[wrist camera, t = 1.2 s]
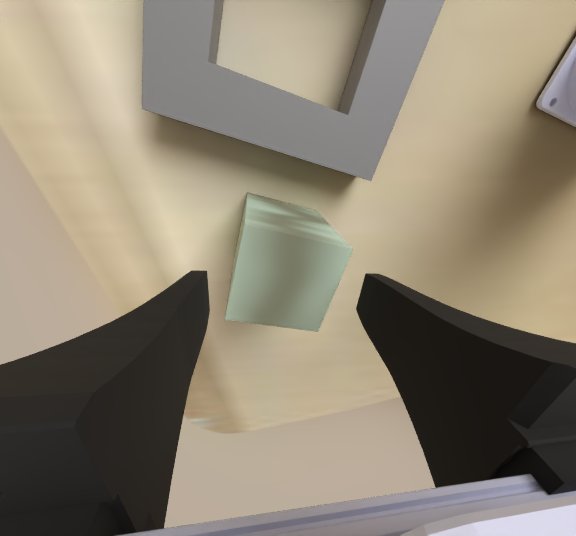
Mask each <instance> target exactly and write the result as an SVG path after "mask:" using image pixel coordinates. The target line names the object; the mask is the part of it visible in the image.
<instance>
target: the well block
mask: <svg viewBox="0 0 576 536" xmlns="http://www.w3.org/2000/svg"><path fill="white" fill-rule="evenodd" d="M444 1H445V0H372V3H371V6H370V10H369V13H368V16H367V19H366V22H365V26H364V29H363V32H362V35H361V38H360V41H359V45H358V48H357V51H356V54H355V57H354V61H353V64H352V67H351V70H350V73H349V76H348V80H347V83H346V86H345V89H344V92H343V96H342V99H341V102H340V105H339V108H338V111H336V110H333V109H331V108H328V107H325V106H323V105H320V104H318V103H315V102H312V101H310V100H307V99H305V98H302V97H299V96H297V95H294V94H292V93H289V92H286V91H284V90H281V89H278V88H276V87H273V86H271V85H268V84H265V83H263V82H260V81H258V80H255V79H252V78H250V77H247V76H244V75H242V74H239V73H237V72H234V71H231V70H229V69H226V68H224V67H221V66H218V65H216V60H217V52H218V44H219V35H220V27H221V19H222V10H223V2H224V0H144V10H143V70H142V109H144V110H147V111H150V112H153V113H156V114H159V115H162V116H166V117H169V118H172V119H175V120H178V121H182V122H185V123H188V124H191V125H194V126H197V127H201V128H204V129H207V130H210V131H213V132H216V133H220V134H223V135H226V136H229V137H232V138H236V139H239V140H242V141H245V142H248V143H251V144H255V145H258V146H261V147H264V148H267V149H270V150H274V151H277V152H280V153H283V154H286V155H289V156H293V157H296V158H299V159H302V160H305V161H309V162H312V163H315V164H318V165H321V166H324V167H328V168H331V169H334V170H337V171H340V172H343V173H347V174H350V175H353V176H356V177H360V178H363V179H366V180H370V181H371V180H372V178H373V175H374V173H375V170H376V168H377V165H378V163H379V160H380V158H381V156H382V153H383V151H384V148H385V146H386V143H387V141H388V138H389V136H390V133H391V131H392V129H393V126H394V124H395V121H396V119H397V116H398V114H399V111H400V109H401V107H402V104H403V102H404V99H405V97H406V94H407V92H408V89H409V87H410V84H411V82H412V80H413V77H414V75H415V72H416V70H417V67H418V65H419V62H420V60H421V58H422V55H423V53H424V50H425V48H426V45H427V43H428V40H429V38H430V35H431V33H432V31H433V28H434V26H435V23H436V21H437V18H438V16H439V13H440V11H441V8H442V6H443V4H444Z"/></svg>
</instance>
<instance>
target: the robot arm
mask: <svg viewBox="0 0 576 536" xmlns="http://www.w3.org/2000/svg"><path fill="white" fill-rule="evenodd" d="M550 102H551V103H550ZM536 105H537V108H538V109H540V110H542V111H544V112H546V113H548V114H550V115H552V116H554V117H556V118H558V119H560V120H562V121H564V122H566V123H568V124H570V125H572V126H574V127H576V37H575V39H574V40H573V42H572V44H571V45H570V47H569V49H568V50H567V52H566V54H565V55H564V57H563V58H562V60H561V62H560V63H559V65H558V67H557V68H556V70H555V72H554V73H553V75H552V77H551V78H550V80H549V82H548V83H547V85H546V87H545V88H544V90H543V91H542V93H541V95H540V96H539V98H538V100H537V103H536ZM356 310H357V312H358V315H359V318H360V320H361V323H362V325H363V327H364V329H365V331H366V333H367V334H368V336H369V338H370V339H371V341H372V343H373V345H374V346H375V348H376V350H377V351H378V353H379V355H380V356H381V358H382V360H383V361H384V363H385V365H386V366H387V368H388V370H389V372H390V374H391V376H392V378H393V380H394V382H395V384H396V386H397V388H398V391H399V393H400V395H401V397H402V399H403V402H404V404H405V406H406V409H407V411H408V414H409V415H410V418H411V421H412V423H413V425H414V428H415V431H416V434H417V436H418V439H419V441H420V444H421V447H422V449H423V452H424V455H425V458H426V461H427V463H428V466H429V469H430V472H431V475H432V478H433V481H434V484H435V487H436V488H432V489H425V490H419V491H412V492H405V493H398V494H391V495H385V496H378V497H371V498H364V499H358V500H351V501H344V502H338V503H332V504H324V505H318V506H311V507H305V508H298V509H291V510H284V511H278V512H271V513H265V514H257V515H251V516H245V517H238V518H231V519H224V520H217V521H211V522H204V523H197V524H191V525H184V526H177V527H171V528H164V523H165V517H166V511H167V505H168V499H169V492H170V485H171V479H172V474H173V468H174V463H175V457H176V451H177V445H178V440H179V435H180V429H181V424H182V419H183V414H184V409H185V404H186V399H187V395H188V390H189V386H190V382H191V378H192V375H193V372H194V369H195V365H196V362H197V359H198V356H199V353H200V349H201V346H202V343H203V340H204V336H205V333H206V329H207V324H208V318H209V311H210V308H209V293H208V279H207V271H190V272H189V273H187V274H186V275H185V276H183V277H182V278H181V279H179V280H178V281H177V282H175V283H174V284H172V285H171V286H170V287H168V288H167V289H166V290H164V291H163V292H161V293H160V294H158V295H157V296H155V297H154V298H152V299H150V300H149V301H147V302H146V303H144V304H143V305H141V306H139V307H138V308H136V309H134V310H133V311H131V312H129V313H127V314H125V315H123V316H121V317H119V318H118V319H116V320H114V321H112V322H110V323H108V324H105V325H103V326H101V327H99V328H97V329H94V330H92V331H90V332H87V333H85V334H83V335H81V336H79V337H76V338H74V339H71V340H69V341H66V342H64V343H61V344H59V345H56V346H54V347H51V348H48V349H46V350H43V351H40V352H37V353H35V354H32V355H29V356H26V357H23V358H20V359H18V360H15V361H11V362H8V363H5V364H2V365H0V536H576V344H575V343H570V342H566V341H561V340H556V339H552V338H548V337H544V336H540V335H536V334H532V333H528V332H525V331H521V330H517V329H514V328H510V327H507V326H504V325H501V324H497V323H494V322H491V321H488V320H485V319H482V318H479V317H476V316H473V315H471V314H468V313H465V312H463V311H460V310H457V309H455V308H452V307H450V306H448V305H445V304H443V303H441V302H439V301H436V300H434V299H432V298H430V297H428V296H425V295H423V294H421V293H419V292H417V291H415V290H413V289H411V288H409V287H407V286H405V285H403V284H401V283H399V282H397V281H394V280H392V279H390V278H388V277H386V276H383V275H380V274H365V278H364V282H363V285H362V289H361V293H360V297H359V300H358V304H357V308H356Z"/></svg>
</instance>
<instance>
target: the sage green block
mask: <svg viewBox="0 0 576 536" xmlns="http://www.w3.org/2000/svg"><path fill="white" fill-rule="evenodd" d="M352 251H353V248H352V247H351V246H350V245H349V244H348V243H347V242H346V241H345V240H344V239H343V238H342V237H341V236H340V235H339V234H338V233H337V232H336V231H335V230H334V229H333V228H332V227H331V226H330V225H329V224H328V223H327V222H326V220H325V219H324V218H323V217H322V216H321V215H320V214H319V213H318V212H317V211H316V210H312V209H308V208H304V207H301V206H297V205H293V204H289V203H285V202H282V201H278V200H274V199H270V198H266V197H263V196H259V195H255V194H251V193H247V197H246V202H245V207H244V212H243V217H242V222H241V227H240V232H239V237H238V242H237V247H236V252H235V257H234V263H233V269H232V276H231V282H230V289H229V295H228V302H227V308H226V315H225V320H231V321H238V322H246V323H254V324H262V325H269V326H277V327H285V328H293V329H300V330H308V331H316V332H318V331H319V328H320V326H321V324H322V321H323V319H324V317H325V314H326V312H327V310H328V307H329V305H330V302H331V300H332V298H333V295H334V293H335V291H336V288H337V286H338V284H339V281H340V279H341V277H342V274H343V272H344V270H345V267H346V265H347V263H348V260H349V258H350V256H351V253H352Z"/></svg>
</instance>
